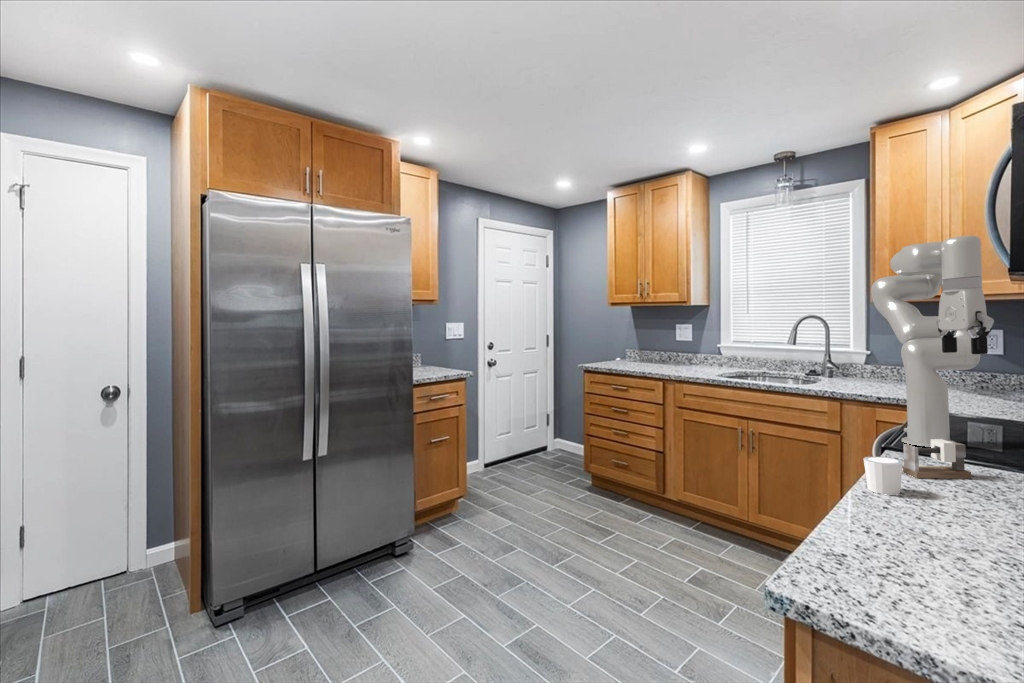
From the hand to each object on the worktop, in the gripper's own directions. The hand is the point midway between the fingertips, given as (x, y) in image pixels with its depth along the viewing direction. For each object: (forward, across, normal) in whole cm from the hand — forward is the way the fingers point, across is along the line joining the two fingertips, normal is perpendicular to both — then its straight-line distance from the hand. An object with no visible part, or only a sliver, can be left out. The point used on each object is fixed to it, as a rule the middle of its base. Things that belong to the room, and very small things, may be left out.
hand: (964, 353), depth 125 cm
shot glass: (+28, +22, -32) cm, 48 cm away
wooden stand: (+28, +10, -14) cm, 33 cm away
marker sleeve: (+24, +10, -12) cm, 29 cm away
